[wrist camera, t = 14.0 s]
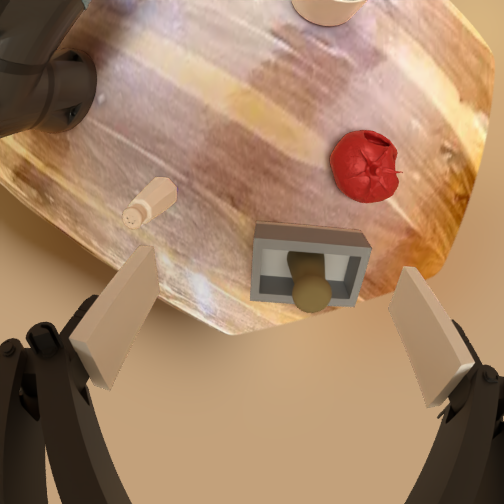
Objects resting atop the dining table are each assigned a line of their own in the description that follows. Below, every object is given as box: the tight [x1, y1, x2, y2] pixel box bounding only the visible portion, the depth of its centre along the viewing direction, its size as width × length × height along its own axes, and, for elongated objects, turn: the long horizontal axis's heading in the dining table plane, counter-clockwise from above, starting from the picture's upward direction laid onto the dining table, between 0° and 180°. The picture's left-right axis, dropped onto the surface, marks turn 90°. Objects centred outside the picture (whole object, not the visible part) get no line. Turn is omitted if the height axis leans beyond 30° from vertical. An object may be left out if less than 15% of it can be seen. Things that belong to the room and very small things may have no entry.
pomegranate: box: [330, 130, 403, 203], centre depth 33 cm, size 10×10×9 cm
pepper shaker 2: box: [287, 251, 332, 313], centre depth 39 cm, size 6×6×11 cm
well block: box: [250, 221, 372, 307], centre depth 42 cm, size 10×16×6 cm, turn 87°
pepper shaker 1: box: [122, 177, 177, 229], centre depth 37 cm, size 5×5×11 cm
